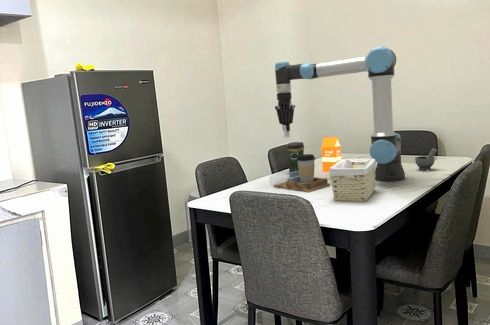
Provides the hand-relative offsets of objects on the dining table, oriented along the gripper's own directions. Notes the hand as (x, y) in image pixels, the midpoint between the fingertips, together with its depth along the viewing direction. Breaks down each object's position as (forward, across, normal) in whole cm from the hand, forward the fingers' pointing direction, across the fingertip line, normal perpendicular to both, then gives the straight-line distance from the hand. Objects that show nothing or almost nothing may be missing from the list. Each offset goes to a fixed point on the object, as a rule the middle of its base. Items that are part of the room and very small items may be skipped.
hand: (286, 137), depth 225 cm
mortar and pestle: (+25, +45, +60) cm, 79 cm away
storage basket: (+25, +46, -6) cm, 53 cm away
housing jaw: (+23, +10, -5) cm, 26 cm away
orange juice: (+25, -1, +37) cm, 45 cm away
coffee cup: (+23, +17, -5) cm, 29 cm away
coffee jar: (+25, -15, +22) cm, 36 cm away
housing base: (+24, +13, -5) cm, 28 cm away
